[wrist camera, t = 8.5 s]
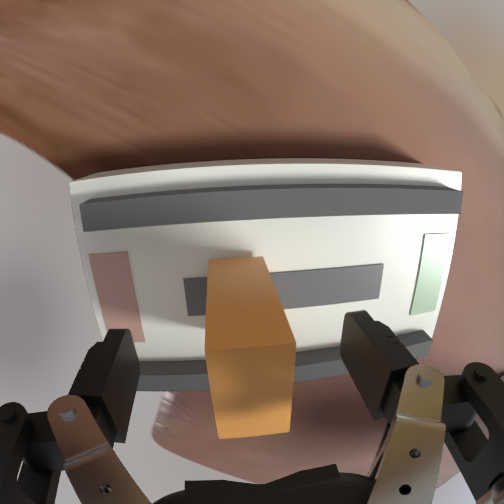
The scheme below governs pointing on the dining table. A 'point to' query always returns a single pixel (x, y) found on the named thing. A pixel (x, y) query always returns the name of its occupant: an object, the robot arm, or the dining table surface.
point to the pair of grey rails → (264, 207)
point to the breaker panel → (267, 254)
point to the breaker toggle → (248, 349)
